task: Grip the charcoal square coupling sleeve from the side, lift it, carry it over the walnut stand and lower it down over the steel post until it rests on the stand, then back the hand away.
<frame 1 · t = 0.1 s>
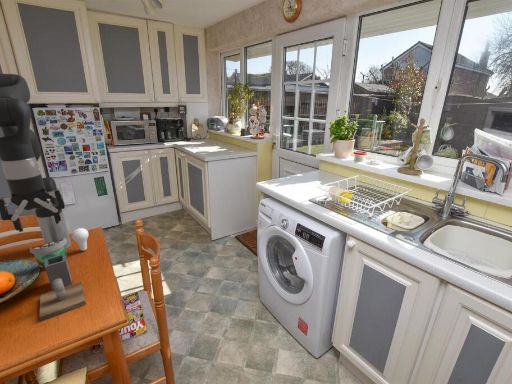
hand: (40, 226, 79), 29 cm above the table, tool pointing down, fingers open, 8 cm apart
lightbulb: (84, 250, 120), on the table
food container: (54, 266, 109), on the table
coupling sleeve: (62, 282, 99), on the table
post stand: (63, 301, 90), on the table
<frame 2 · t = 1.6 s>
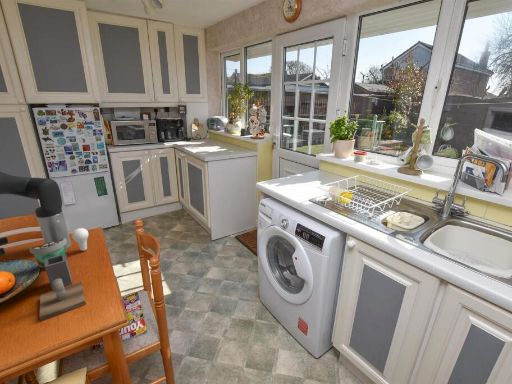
hand: (6, 245, 86), 20 cm above the table, tool horizontal, fingers open, 8 cm apart
nothing on the table moved.
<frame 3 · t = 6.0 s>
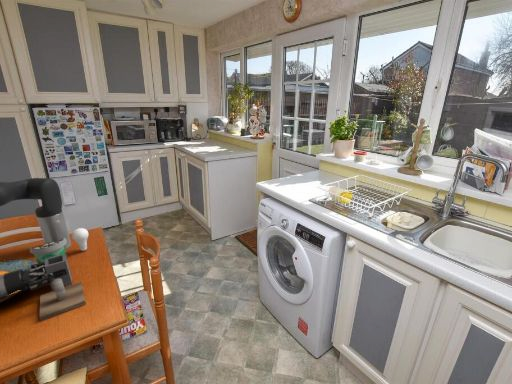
hand: (65, 266, 98), 6 cm above the table, tool horizontal, fingers closed on coupling sleeve, 6 cm apart
coupling sleeve: (62, 282, 99), on the table, touching gripper
everything else where it was.
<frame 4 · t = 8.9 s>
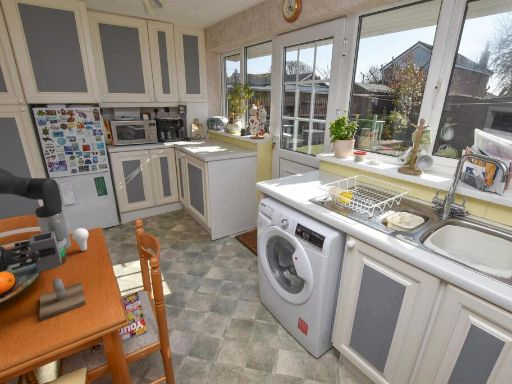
hand: (54, 245, 86), 20 cm above the table, tool horizontal, fingers closed on coupling sleeve, 6 cm apart
coupling sleeve: (50, 264, 86), point 14 cm above the table, touching gripper
everything else where it was.
when the fingers open (8 cm above the table, at t = 11.9 s): coupling sleeve stays where it is, resting on post stand.
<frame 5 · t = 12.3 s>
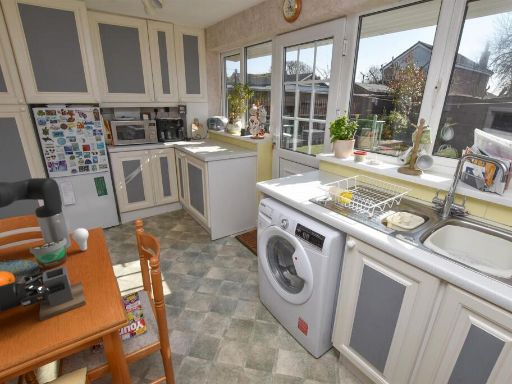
hand: (64, 278, 88), 8 cm above the table, tool horizontal, fingers open, 8 cm apart
coupling sleeve: (62, 298, 89), point 1 cm above the table, touching post stand
everything else where it was.
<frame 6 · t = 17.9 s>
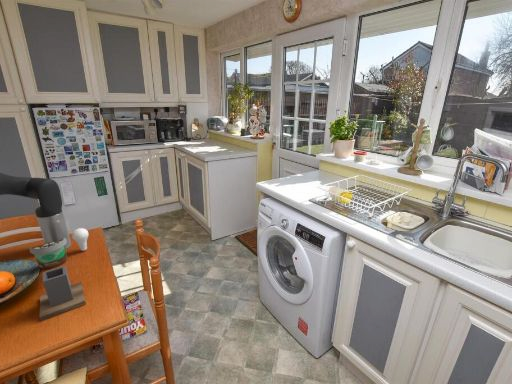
nothing on the table moved.
at the end: coupling sleeve 0.0 cm off-centre on the post stand, point 1.5 cm above the post stand's base; coupling sleeve tilted 0°; the gripper is holding nothing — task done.
